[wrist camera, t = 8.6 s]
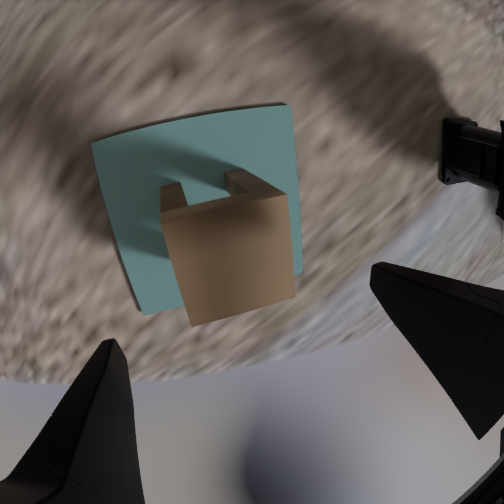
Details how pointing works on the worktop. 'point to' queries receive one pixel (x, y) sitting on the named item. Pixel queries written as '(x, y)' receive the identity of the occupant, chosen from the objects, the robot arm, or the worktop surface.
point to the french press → (502, 232)
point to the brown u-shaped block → (229, 247)
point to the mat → (189, 184)
